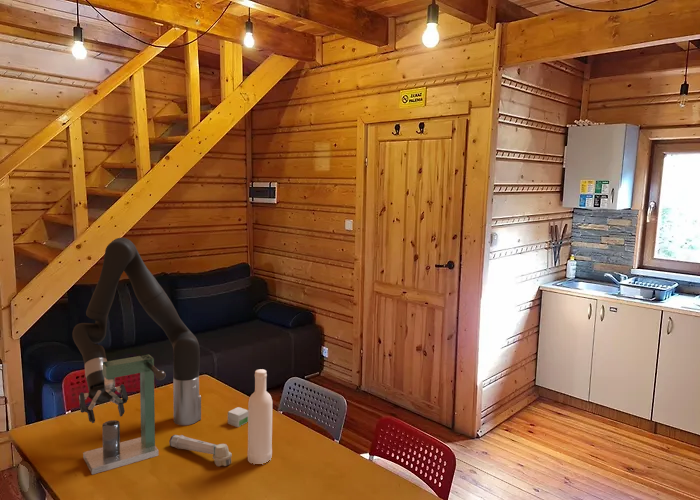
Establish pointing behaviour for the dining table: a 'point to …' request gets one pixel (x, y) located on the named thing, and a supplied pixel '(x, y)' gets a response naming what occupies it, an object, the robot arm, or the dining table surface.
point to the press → (145, 443)
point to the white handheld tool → (203, 448)
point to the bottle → (260, 421)
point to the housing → (111, 438)
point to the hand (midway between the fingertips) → (107, 418)
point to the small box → (238, 417)
